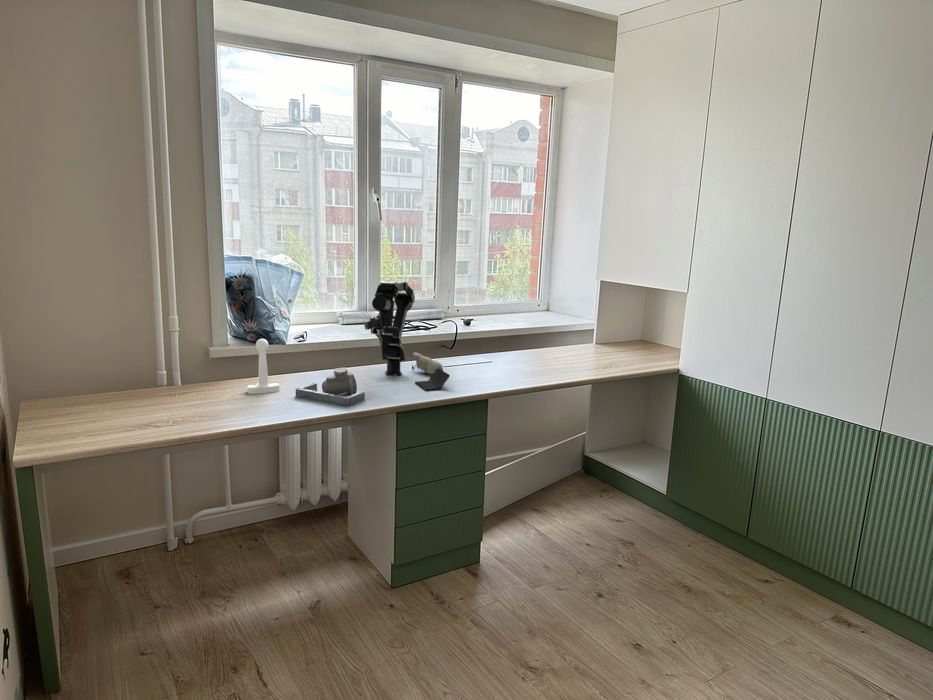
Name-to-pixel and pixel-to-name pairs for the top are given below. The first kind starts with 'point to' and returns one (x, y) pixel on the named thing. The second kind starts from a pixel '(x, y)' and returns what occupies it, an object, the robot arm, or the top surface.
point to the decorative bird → (426, 364)
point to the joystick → (262, 372)
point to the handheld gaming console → (434, 381)
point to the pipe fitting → (340, 382)
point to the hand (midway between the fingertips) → (383, 352)
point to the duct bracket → (328, 396)
